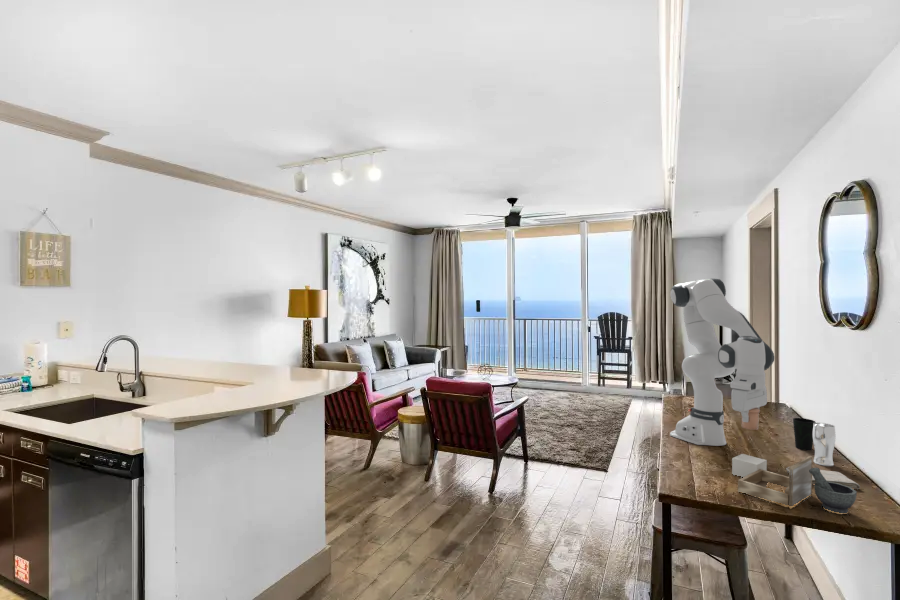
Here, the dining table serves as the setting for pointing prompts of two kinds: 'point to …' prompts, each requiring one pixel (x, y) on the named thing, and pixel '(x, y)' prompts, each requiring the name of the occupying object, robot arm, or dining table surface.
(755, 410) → the terracotta pot
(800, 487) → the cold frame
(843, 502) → the mortar and pestle
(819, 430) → the beer glass
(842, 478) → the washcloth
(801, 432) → the cup
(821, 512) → the dining table surface
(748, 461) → the block
